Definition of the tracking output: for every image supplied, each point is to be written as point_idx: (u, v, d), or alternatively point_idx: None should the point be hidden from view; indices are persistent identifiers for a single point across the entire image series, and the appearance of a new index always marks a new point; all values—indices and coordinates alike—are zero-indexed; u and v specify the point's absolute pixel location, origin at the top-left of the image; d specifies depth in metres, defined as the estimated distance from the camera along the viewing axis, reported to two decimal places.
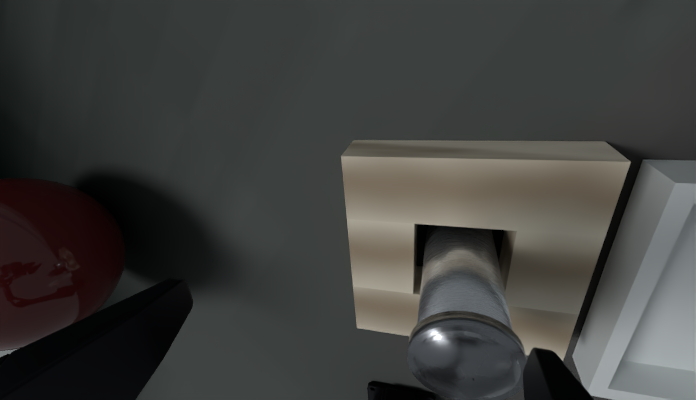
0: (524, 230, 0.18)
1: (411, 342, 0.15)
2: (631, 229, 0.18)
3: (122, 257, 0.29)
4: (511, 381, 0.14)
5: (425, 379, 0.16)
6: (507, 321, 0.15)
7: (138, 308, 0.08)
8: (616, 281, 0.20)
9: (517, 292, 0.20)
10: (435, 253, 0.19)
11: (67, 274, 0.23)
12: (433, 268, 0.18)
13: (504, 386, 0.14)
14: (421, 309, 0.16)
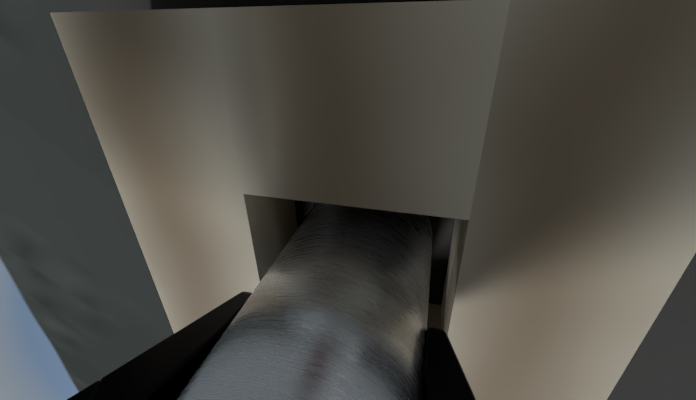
0: (242, 179, 0.09)
1: None
2: None
3: None
4: None
5: None
6: None
7: (220, 326, 0.07)
8: None
9: (417, 187, 0.07)
10: None
11: None
12: None
13: None
14: None
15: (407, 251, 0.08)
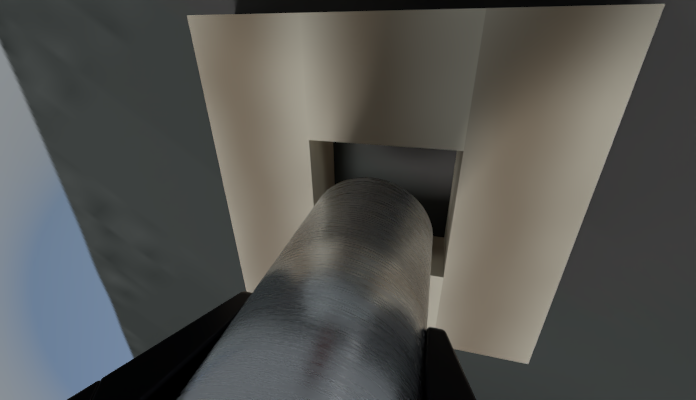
0: (309, 129, 0.12)
1: None
2: None
3: None
4: None
5: None
6: None
7: (220, 326, 0.07)
8: None
9: (430, 129, 0.11)
10: None
11: None
12: None
13: None
14: None
15: (407, 251, 0.08)
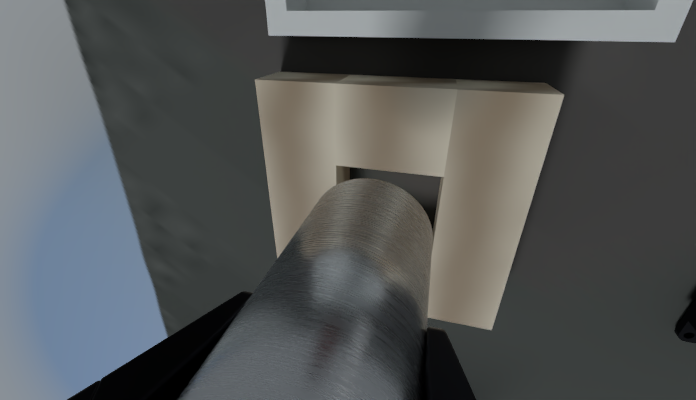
0: (336, 158, 0.18)
1: None
2: None
3: None
4: None
5: None
6: None
7: (220, 327, 0.07)
8: None
9: (421, 162, 0.16)
10: None
11: None
12: None
13: None
14: None
15: (406, 252, 0.08)
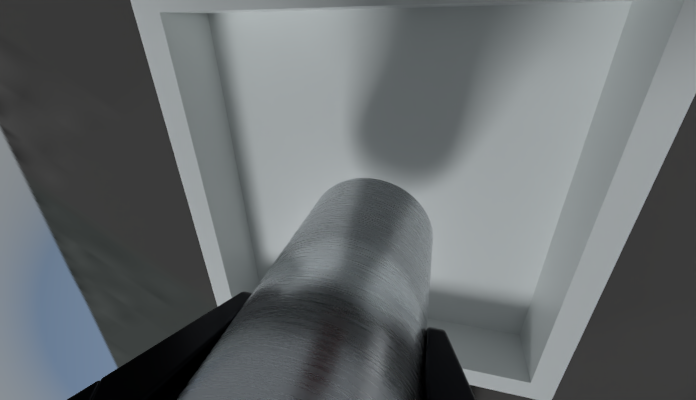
0: None
1: None
2: None
3: None
4: None
5: None
6: None
7: (220, 326, 0.07)
8: None
9: None
10: None
11: None
12: None
13: None
14: None
15: (407, 251, 0.08)
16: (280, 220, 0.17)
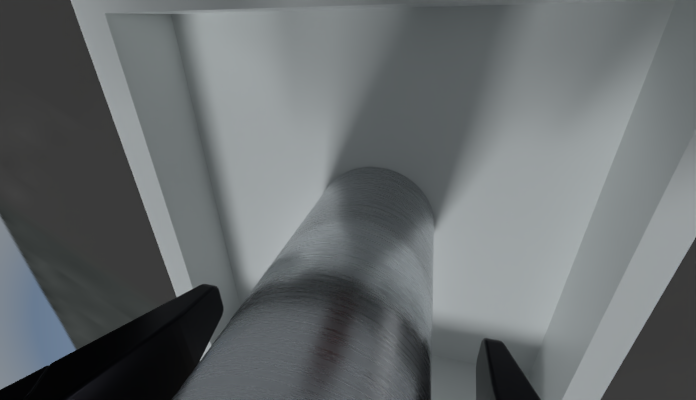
0: None
1: None
2: None
3: None
4: None
5: None
6: (197, 379, 0.05)
7: (174, 316, 0.08)
8: None
9: None
10: None
11: None
12: None
13: None
14: None
15: (413, 227, 0.09)
16: (261, 245, 0.15)
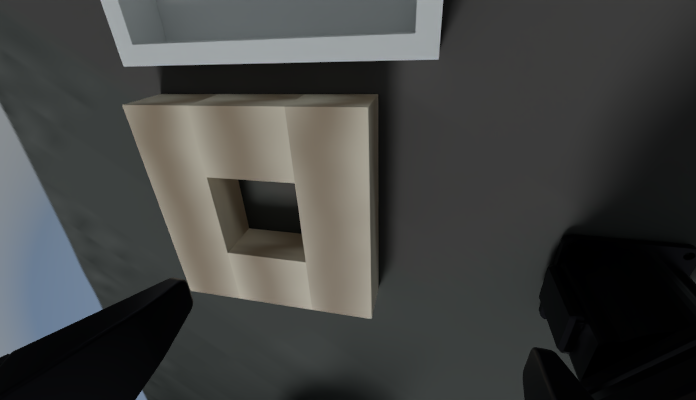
0: (205, 170, 0.19)
1: None
2: None
3: None
4: None
5: None
6: None
7: (138, 308, 0.08)
8: None
9: (273, 170, 0.18)
10: None
11: None
12: None
13: None
14: None
15: None
16: None
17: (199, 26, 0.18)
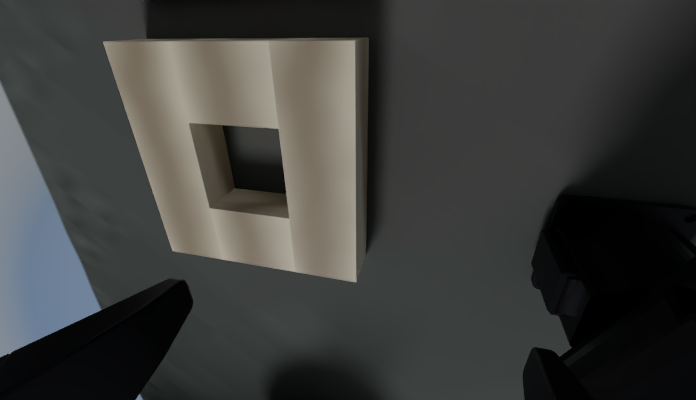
0: (188, 115, 0.19)
1: None
2: None
3: None
4: None
5: None
6: None
7: (138, 308, 0.08)
8: None
9: (256, 114, 0.17)
10: None
11: None
12: None
13: None
14: None
15: None
16: None
17: None
